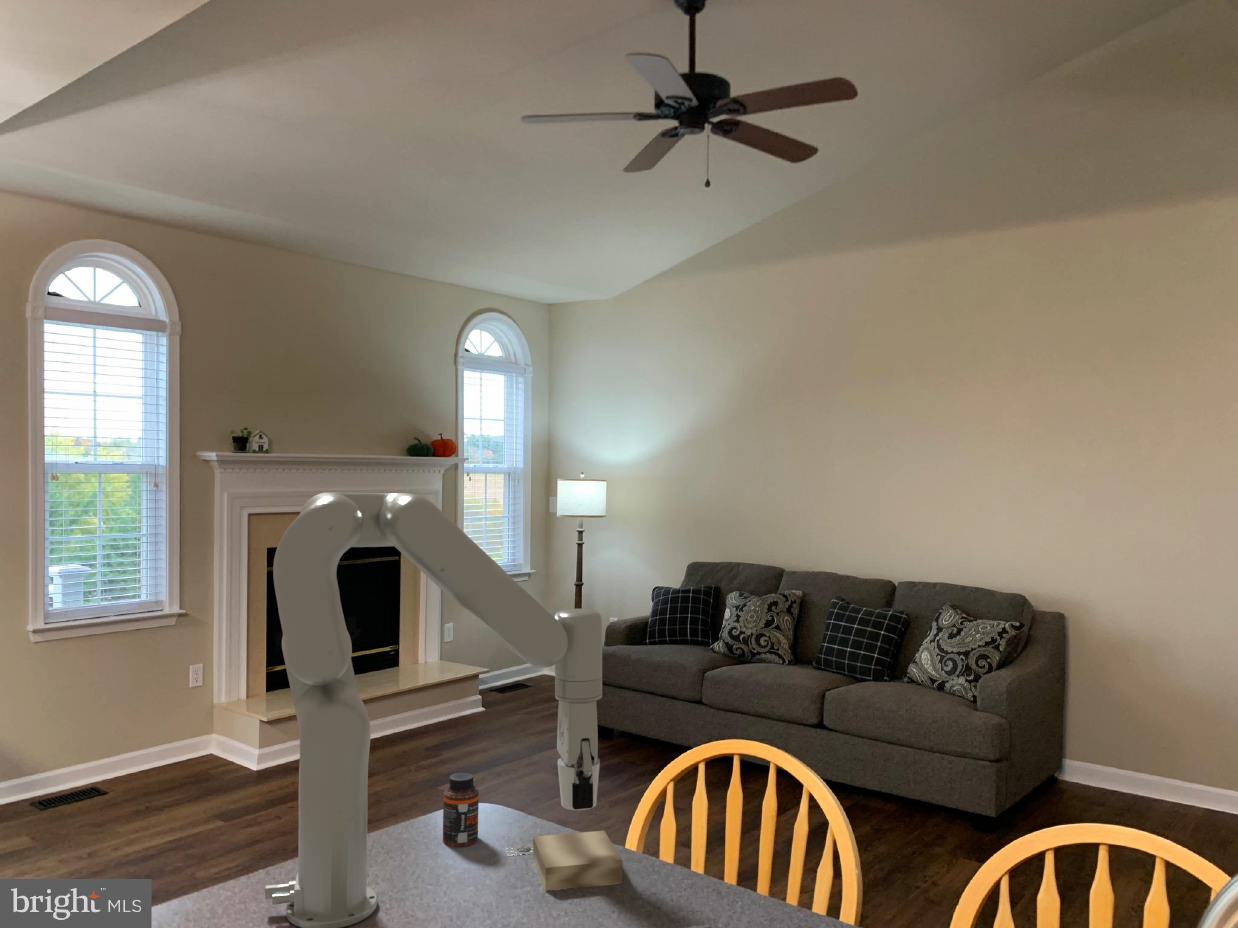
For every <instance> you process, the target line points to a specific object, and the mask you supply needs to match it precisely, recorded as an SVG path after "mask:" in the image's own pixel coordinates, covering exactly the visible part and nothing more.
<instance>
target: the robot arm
mask: <svg viewBox="0 0 1238 928" xmlns="http://www.w3.org/2000/svg"><path fill="white" fill-rule="evenodd" d="M367 547H368V548H370V547H371V548H378V547H379V548H380V547H394V548H396V549H397V550H398V551H399V552H400V553H401V554H402V555H403V556H404V557H405V558H406V559H408V560H409V562H411V563H412V564H414V566H415V567H416V568H417V569H418V570H420V572H422V574H424V575H425V576H426V577H428V578H429V580H430V581H431V582H432V583H434V584H435V585H436V586H437V587H438V588H439V589H440V590H441V591H442V592H443V593H445V595H446V596H447V597H449V598H450V599H451V600H452V601H454V602H455V603H456V604H457V605H458V606H460V607H461V608H463V609H464V610H466V611H467V612H469V613H471V614H472V615H473V616H474V617H476V618H478V619H479V620H480V621H482V622H483V623H484V624H485V625H487V627H489V628H490V629H491V630H492V631H494V632H495V634H496V635H498V636H499V637H500V638H501V639H503V640H504V643H505V645H506V646H507V648H508V649H509V650H510V651H511V652H512V653H514V654H515V655H516V656H518V657H519V658H521V659H522V660H524V661H525V662H526V663H527V664H529V665H530V666H533V667H535V668H539V669H540V668H541V669H542V668H543V669H545V668H551V667H553V666H554V698H555V699H556V700H557V701H558V705H557V707H558V709H557V731H556V749H557V753H558V754H559V755H560V758H561V757H562V759H563V761H564V762H565V763H566V764H567V765H568V766H571V764H573V766H574V783H572V807H573V809H585V808H591V809H593V808H594V807H593V775H592V770H593V769H592V764H594V763H596V761H597V757H598V755H599V754H598V751H599V750H598V747H599V743H598V742H599V740H598V739H599V738H598V737H599V734H598V710H597V701H599V700H601V699H602V698H603V619H602V615H601V614H600V613H599V612H598V611H597V610H594V609H589V608H569V609H568V608H567V609H564V610H547V608H545V607H544V606H543V605H542V604H541V603H540V602H539V601H537V600H536V599H535V597H533V596H532V595H531V594H530V593H529V592H528V591H527V590H525V589H524V588H523V587H522V586H521V585H520V584H519V583H518V582H517V581H516V580H514V579H513V578H512V577H511V576H510V575H509V574H508V573H507V572H506V571H505V570H504V569H503V568H502V567H501V566H500V565H499V564H498V562H496V561H495V560H494V558H493V559H492V557H490V555H488V553H486V552H485V550H483V549H482V548H481V547H480V546H479V545H478V544H477V543H476V542H475V541H474V540H473V539H472V538H471V537H469V536H468V534H466V533H465V532H464V531H463V530H462V529H461V528H460V527H459V526H458V525H457V524H456V522H454V521H453V520H452V519H451V518H450V517H448V516H447V515H446V513H444V512H443V511H442V510H441V509H440V508H439V507H438V506H436V504H435V503H434V502H432V500H431V501H430V500H429V499H428V498H427V497H424V496H422V495H419V494H416V493H415V494H414V493H410V492H391V493H389V492H387V493H385V492H381V493H379V492H377V493H375V492H370V493H369V492H341V491H340V492H339V491H338V492H334V491H333V492H332V491H330V492H329V491H328V492H321V493H318V494H316V495H314V496H312V497H311V498H309V499H308V500H307V501H306V502H305V503H304V504H303V506H302V507H301V509H300V512H299V514H298V516H297V517H296V518H295V519H294V520H293V521H292V522H291V524H289V526H288V527H287V528H286V529H285V532H284V533H283V535H282V536H281V539H280V540H279V542H278V545H277V548H276V551H275V554H274V558H273V565H272V566H273V569H272V570H273V571H272V573H273V585H274V591H275V597H276V603H277V608H278V616H279V622H280V624H281V630H282V631H281V632H282V637H281V650H282V655H283V660H284V663H285V668H286V673H287V679H288V682H289V687H290V693H291V697H292V702H293V706H294V711H295V715H296V716H295V717H296V720H297V726H298V733H299V734H298V735H299V763H298V764H299V768H298V839H297V840H298V846H297V847H298V851H297V852H298V855H297V861H298V862H297V863H298V864H297V869H298V870H297V873H296V878H295V879H294V880H293V879H292V880H289V881H288V883H280V884H279V883H274V884H273V883H272V884H266V885H265V887H264V888H265V889H264V890H265V891H264V900H271V905H282V904H286V908H285V915H286V918H287V919H286V920H288V922H290V923H291V924H292V925H294V926H296V927H299V928H345V927H349V926H352V925H354V924H356V923H359V922H361V921H363V920H365V919H367V918H368V917H370V915H372V914H373V912H375V910H376V909H377V907H378V895H377V893H376V891H375V890H374V889H373V888H371V887H370V886H367V879H368V877H367V875H368V873H367V871H368V869H367V868H368V866H367V865H368V863H367V862H368V800H369V799H368V780H369V778H368V775H369V772H368V771H369V758H370V747H371V731H372V730H371V722H370V717H369V713H368V711H367V708H366V706H365V704H364V702H363V700H362V698H361V697H360V694H359V689H358V685H357V680H356V677H355V672H354V667H353V662H352V654H353V647H352V646H353V645H352V639H351V636H350V633H349V631H348V628H347V625H346V621H345V616H344V613H343V612H344V611H343V608H342V601H341V596H340V588H339V584H338V578H337V570H338V564H339V562H340V559H341V558H342V556H344V555H343V554H344V553H346V552H347V551H348V550H349V549H351V548H367ZM577 759H582V763H577ZM578 767H582V770H580V772H579V773H578ZM592 807H593V808H592Z"/></svg>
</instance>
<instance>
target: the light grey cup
mask: <svg viewBox="0 0 1238 928" xmlns="http://www.w3.org/2000/svg"><path fill="white" fill-rule="evenodd" d="M577 763H582V759H577ZM600 765H601V759H600V758H599V757H598V756H597V761H596V763H594V764H592V769H593V770H592V775H593V807H592V808H585V809H573V807H572V783H574V766H573V764H571V766H568V765H567V764H566V763H565V762H564V761H563V759H562V757H561V756H560V758H558V759H557V773H558V784H559V785H558V786H559V794H560V804H561V806H562V807H563V808H564V809H566V810H570V811H587V810H590V809H593V808H594V807H596V806H597V798H598V790H599V789H598V787H599V775H600ZM580 770H582V767H578V773H579V772H580Z"/></svg>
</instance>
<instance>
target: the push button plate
mask: <svg viewBox="0 0 1238 928" xmlns="http://www.w3.org/2000/svg"><path fill="white" fill-rule="evenodd" d="M528 846H529V845H523V846H520V847H521V848H517V851H518V852H533V851H530V850H531V849H533V848H530V847H528ZM524 847H527V848H524ZM505 848H506V849H508V848H509V847H505ZM510 848H511V847H510ZM506 849H505V852H508V851H506ZM511 849H513V848H511ZM519 850H520V851H519ZM525 850H526V851H525ZM510 852H514V851H510ZM515 853H517V852H515ZM513 855H514V856H513ZM506 856H507V857H508V856H509V857H517V854H516V855H515V854H511V855H509V854H507V853H506ZM520 856H523V855H522V854H520ZM525 856H529V855H528V854H526V855H525Z"/></svg>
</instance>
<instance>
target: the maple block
mask: <svg viewBox="0 0 1238 928" xmlns="http://www.w3.org/2000/svg"><path fill="white" fill-rule="evenodd" d="M532 845H533V854H532V859H533V858H534V859H533V861H535V862H534V864H535V866H537V867H536V870H537V869H538V870H537V872H539V873H538V875H539V878H540V881H541V880H542V881H541V883H542V885H543V889H544V888H545V889H544V892H549V891H548V890H551V891H550V892H552V890H554V891H561V890H562V889H564V890H568V889H567V888H574V889H579V888H578V887H583V888H591V887H601V886H612V885H620V884H623V860H622V857H621V856H620V855H619V853H618V851H617V849H616V848H615V846H614V845H613V843H612V841H611V839H610V838H609V836H608V834H607V833H606V830H597V831H583V832H582V831H581V832H573V833H571V832H569V833H561V834H548V835H536V836H533V837H532ZM560 889H561V890H560Z"/></svg>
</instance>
